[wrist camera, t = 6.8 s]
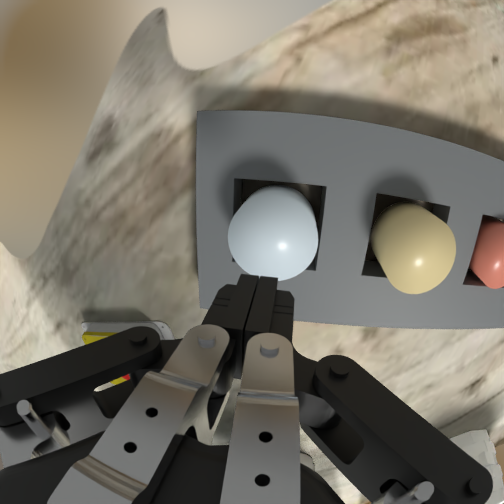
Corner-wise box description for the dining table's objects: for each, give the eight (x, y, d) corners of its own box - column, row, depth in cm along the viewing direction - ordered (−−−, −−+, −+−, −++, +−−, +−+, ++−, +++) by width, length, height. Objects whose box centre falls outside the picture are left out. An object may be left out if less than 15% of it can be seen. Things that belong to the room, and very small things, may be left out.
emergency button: (184, 401, 29) (96, 388, 33) (195, 376, 33) (110, 369, 37) (152, 342, 26) (64, 337, 29) (168, 318, 30) (81, 319, 33)
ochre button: (440, 207, 18) (464, 222, 15) (424, 271, 21) (442, 296, 17) (377, 196, 19) (394, 210, 15) (364, 265, 21) (375, 291, 18)
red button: (506, 219, 19) (529, 233, 15) (491, 271, 21) (511, 290, 17) (469, 210, 19) (492, 223, 16) (454, 266, 22) (473, 287, 18)
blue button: (318, 188, 20) (323, 200, 16) (310, 259, 22) (311, 285, 18) (241, 181, 20) (228, 192, 17) (239, 252, 23) (227, 275, 19)
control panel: (531, 176, 16) (549, 182, 14) (492, 313, 23) (503, 328, 20) (209, 113, 20) (197, 111, 18) (209, 290, 27) (200, 308, 24)
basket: (470, 461, 38) (481, 517, 21) (385, 487, 44) (387, 549, 26) (506, 410, 29) (531, 482, 12) (401, 449, 35) (410, 538, 18)
